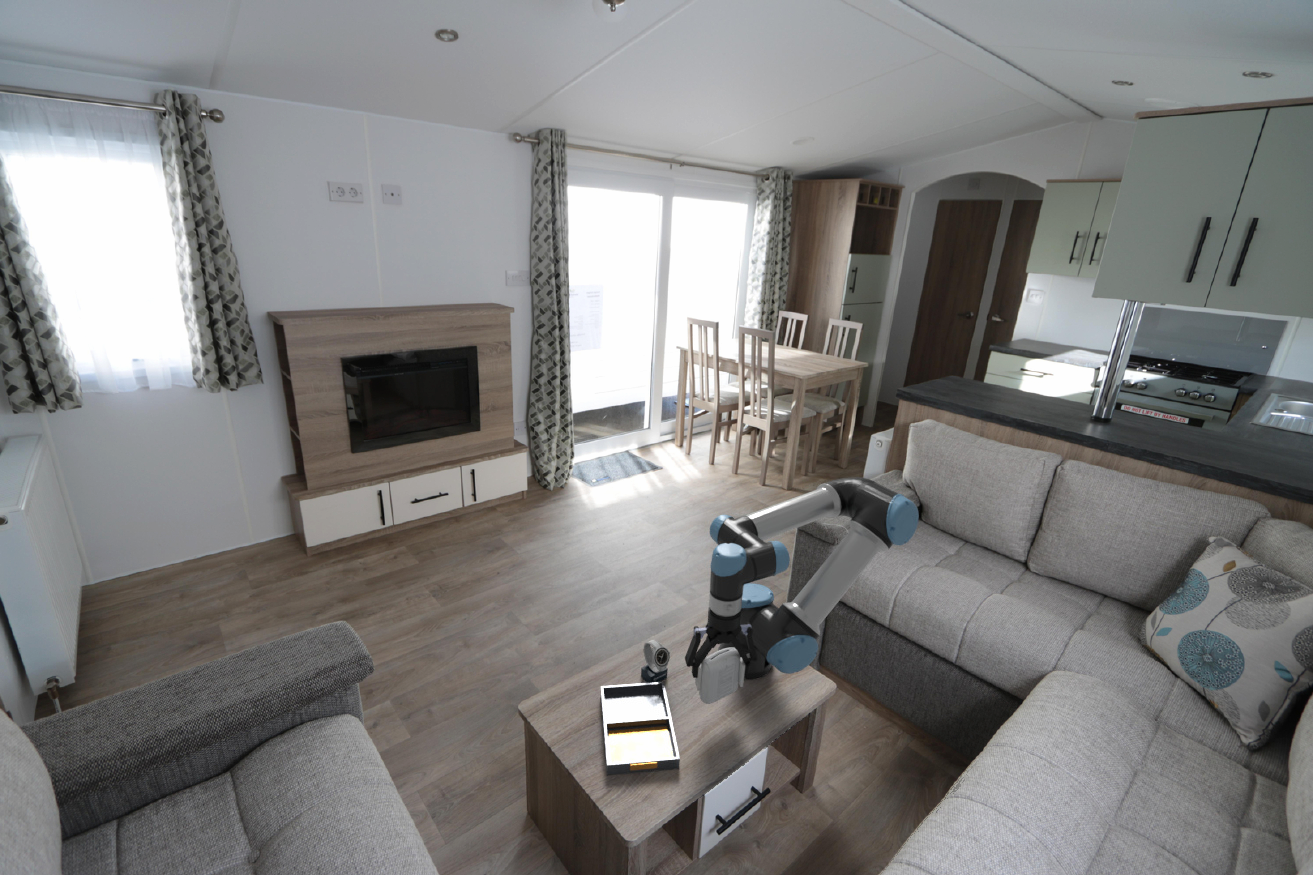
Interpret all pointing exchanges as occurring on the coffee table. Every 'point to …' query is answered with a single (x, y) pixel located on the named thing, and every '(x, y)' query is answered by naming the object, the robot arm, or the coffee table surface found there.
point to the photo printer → (719, 675)
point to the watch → (655, 662)
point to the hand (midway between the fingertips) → (719, 684)
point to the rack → (638, 729)
